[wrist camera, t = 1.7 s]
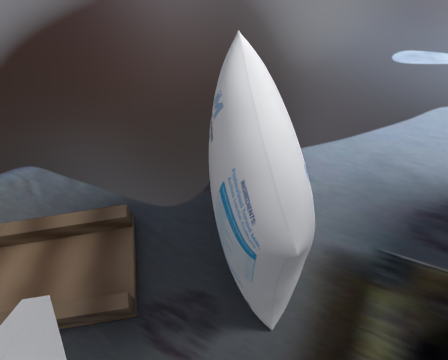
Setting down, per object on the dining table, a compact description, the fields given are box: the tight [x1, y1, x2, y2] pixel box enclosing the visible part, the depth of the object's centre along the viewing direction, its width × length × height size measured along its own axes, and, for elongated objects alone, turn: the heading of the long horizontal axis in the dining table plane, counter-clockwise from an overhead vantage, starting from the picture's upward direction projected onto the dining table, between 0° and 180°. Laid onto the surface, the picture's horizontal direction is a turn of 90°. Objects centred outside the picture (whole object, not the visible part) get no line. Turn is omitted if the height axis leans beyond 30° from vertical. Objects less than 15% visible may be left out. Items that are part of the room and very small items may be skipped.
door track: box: [0, 204, 138, 329], centre depth 42 cm, size 18×11×4 cm, turn 98°
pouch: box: [209, 31, 315, 331], centre depth 36 cm, size 8×19×20 cm, turn 5°
